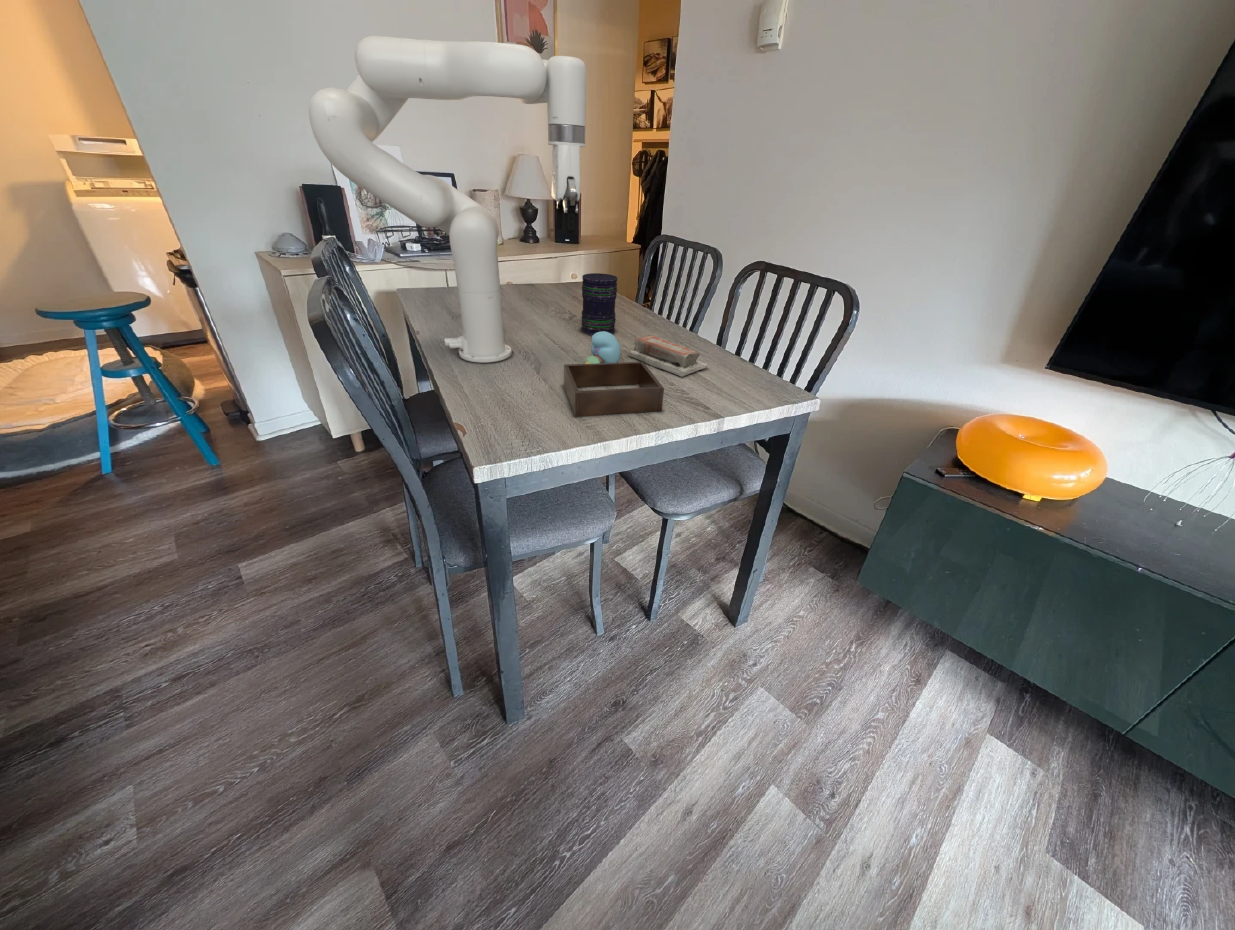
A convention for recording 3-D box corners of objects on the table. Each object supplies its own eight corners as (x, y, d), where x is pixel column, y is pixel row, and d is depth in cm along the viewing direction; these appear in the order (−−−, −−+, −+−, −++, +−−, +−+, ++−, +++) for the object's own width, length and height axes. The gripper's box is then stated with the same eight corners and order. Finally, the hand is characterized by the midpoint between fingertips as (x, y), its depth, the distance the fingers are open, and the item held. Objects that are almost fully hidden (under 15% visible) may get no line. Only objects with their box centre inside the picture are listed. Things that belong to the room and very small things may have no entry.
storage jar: (614, 337, 134) (617, 281, 126) (579, 335, 134) (580, 279, 126) (615, 326, 142) (617, 274, 134) (582, 324, 142) (583, 272, 134)
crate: (575, 416, 91) (575, 392, 88) (563, 386, 103) (563, 364, 100) (661, 411, 95) (664, 388, 92) (641, 382, 107) (643, 361, 104)
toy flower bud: (565, 336, 106) (606, 324, 112) (567, 372, 111) (607, 359, 118) (584, 345, 102) (626, 332, 108) (586, 382, 107) (626, 368, 113)
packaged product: (628, 338, 118) (654, 331, 124) (627, 356, 121) (653, 349, 127) (684, 358, 108) (710, 349, 114) (682, 378, 110) (707, 368, 117)
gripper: (543, 137, 101) (545, 225, 111) (553, 134, 87) (555, 236, 97) (577, 139, 103) (577, 226, 112) (593, 137, 89) (591, 237, 98)
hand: (566, 231), depth 104 cm, fingers open, 9 cm apart
